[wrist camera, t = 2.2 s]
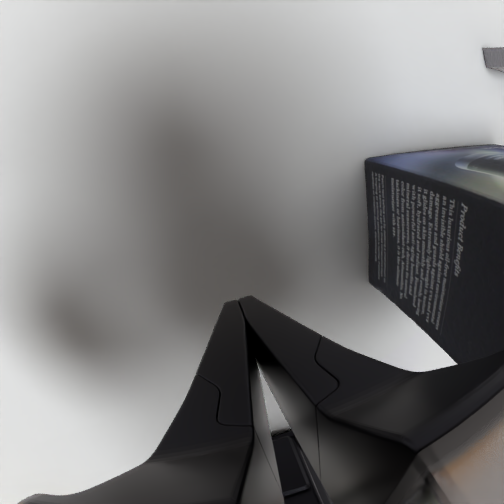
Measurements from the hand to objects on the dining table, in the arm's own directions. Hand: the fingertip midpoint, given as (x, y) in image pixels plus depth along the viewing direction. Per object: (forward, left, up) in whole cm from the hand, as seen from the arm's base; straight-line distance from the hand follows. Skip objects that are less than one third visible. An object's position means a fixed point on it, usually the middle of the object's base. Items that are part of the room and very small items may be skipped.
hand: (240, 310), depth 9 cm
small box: (0, -12, -3) cm, 12 cm away
